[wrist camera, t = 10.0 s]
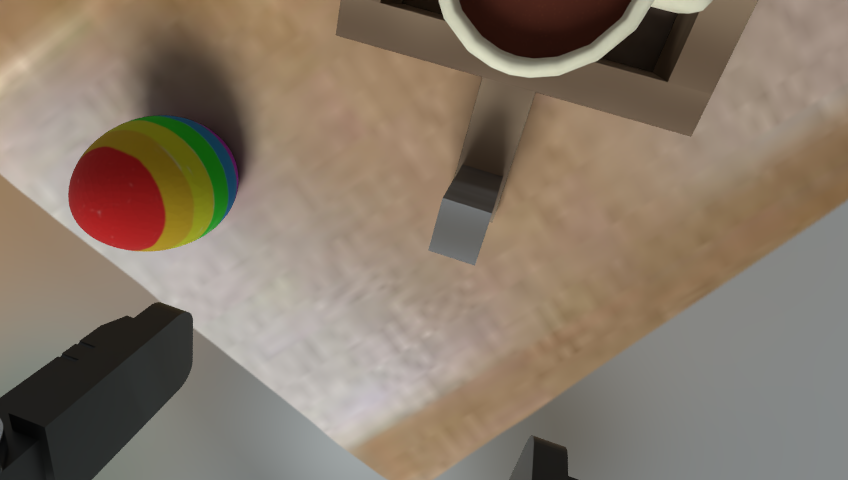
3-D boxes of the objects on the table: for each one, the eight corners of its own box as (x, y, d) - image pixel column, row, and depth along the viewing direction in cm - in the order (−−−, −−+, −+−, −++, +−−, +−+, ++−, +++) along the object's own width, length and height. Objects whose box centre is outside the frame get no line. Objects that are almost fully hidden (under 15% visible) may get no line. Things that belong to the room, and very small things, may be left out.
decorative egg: (271, 211, 36) (178, 278, 27) (178, 225, 38) (66, 290, 29) (230, 95, 33) (111, 127, 24) (132, 118, 35) (-8, 155, 27)
